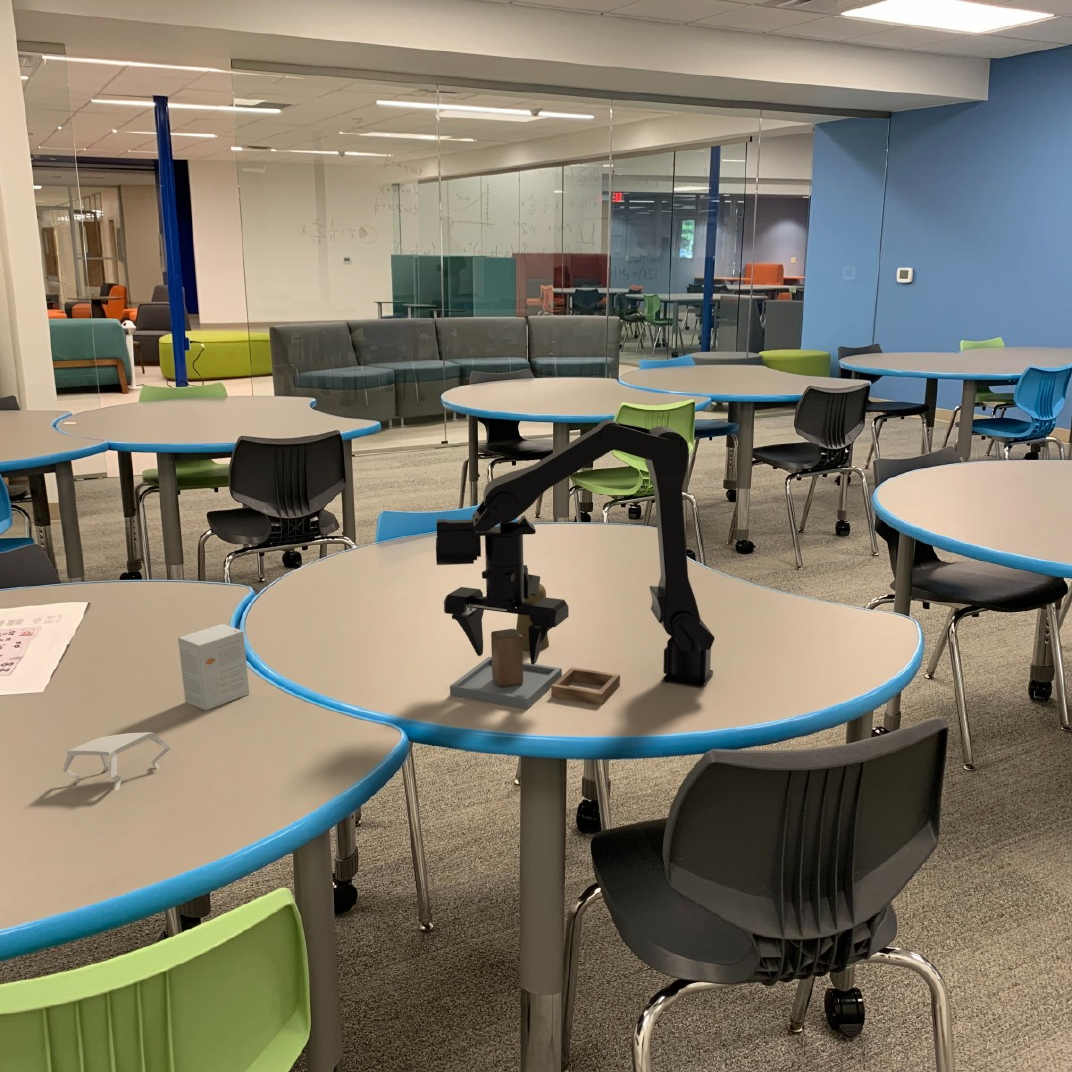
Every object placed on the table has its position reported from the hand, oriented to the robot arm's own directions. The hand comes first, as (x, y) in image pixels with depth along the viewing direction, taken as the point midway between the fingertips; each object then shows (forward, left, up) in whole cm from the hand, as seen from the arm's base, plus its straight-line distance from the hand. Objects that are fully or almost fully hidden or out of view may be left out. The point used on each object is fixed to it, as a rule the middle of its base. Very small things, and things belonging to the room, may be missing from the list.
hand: (506, 659), depth 156 cm
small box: (+39, +21, -5) cm, 45 cm away
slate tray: (0, 0, -4) cm, 4 cm away
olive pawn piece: (+4, -18, -5) cm, 19 cm away
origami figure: (+33, +45, -5) cm, 56 cm away
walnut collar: (-12, -3, -4) cm, 13 cm away
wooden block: (0, 0, -4) cm, 4 cm away
